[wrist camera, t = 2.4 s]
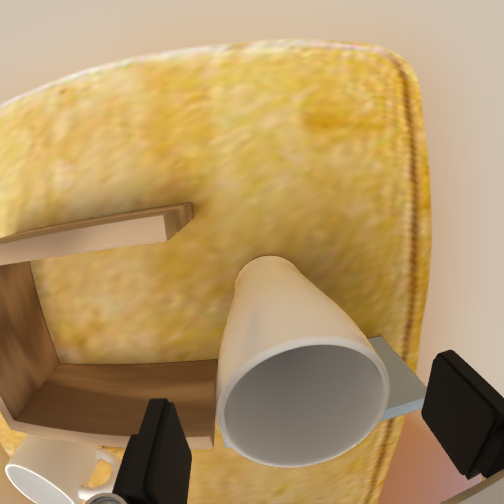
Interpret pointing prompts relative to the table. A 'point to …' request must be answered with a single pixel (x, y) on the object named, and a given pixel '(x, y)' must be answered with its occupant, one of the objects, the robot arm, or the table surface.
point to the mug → (58, 470)
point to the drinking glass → (294, 371)
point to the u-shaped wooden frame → (90, 376)
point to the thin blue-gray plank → (396, 382)
